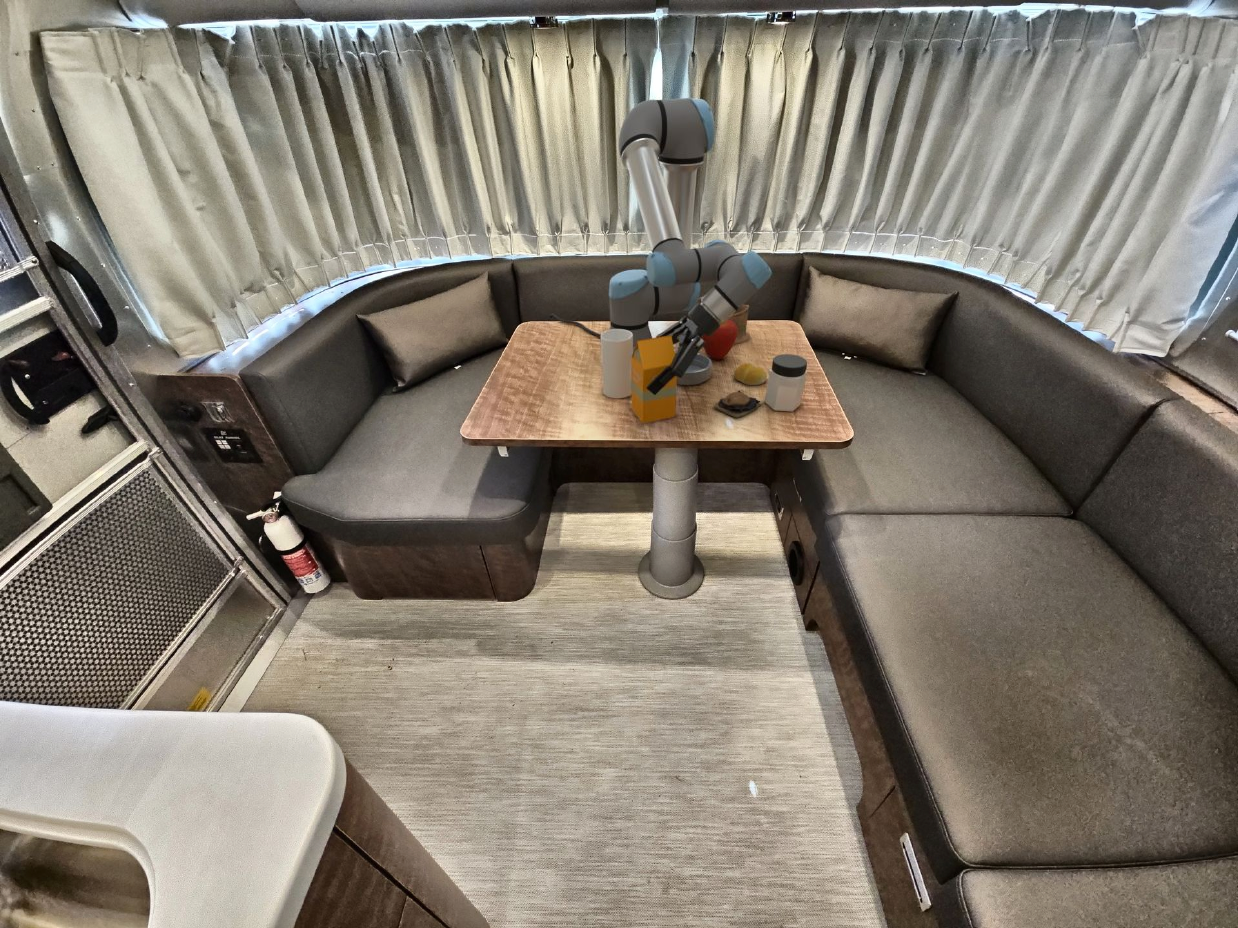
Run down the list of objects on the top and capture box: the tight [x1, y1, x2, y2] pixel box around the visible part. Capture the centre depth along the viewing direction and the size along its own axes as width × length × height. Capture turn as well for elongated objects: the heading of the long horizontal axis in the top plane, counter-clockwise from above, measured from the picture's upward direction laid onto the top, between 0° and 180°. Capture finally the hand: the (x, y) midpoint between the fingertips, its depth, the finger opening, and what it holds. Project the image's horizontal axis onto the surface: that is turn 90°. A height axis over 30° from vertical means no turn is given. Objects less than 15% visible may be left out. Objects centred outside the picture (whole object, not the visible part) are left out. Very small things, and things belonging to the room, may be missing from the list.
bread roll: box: [732, 362, 767, 386], centre depth 147 cm, size 8×9×4 cm
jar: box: [764, 353, 808, 412], centre depth 133 cm, size 9×8×12 cm
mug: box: [696, 296, 750, 345], centre depth 171 cm, size 12×18×12 cm, turn 67°
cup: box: [600, 329, 633, 399], centre depth 140 cm, size 8×8×16 cm
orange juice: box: [631, 335, 678, 424], centre depth 129 cm, size 8×9×20 cm
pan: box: [675, 351, 713, 386], centre depth 150 cm, size 14×14×4 cm
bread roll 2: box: [714, 390, 762, 419], centre depth 135 cm, size 11×8×4 cm
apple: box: [702, 319, 738, 361], centre depth 157 cm, size 11×11×12 cm
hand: (645, 378), depth 128 cm, fingers open, 13 cm apart
